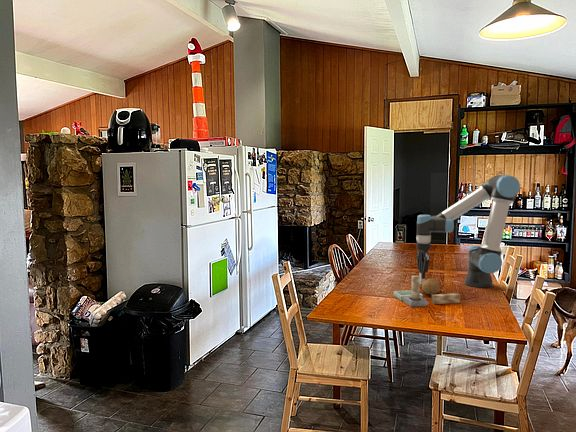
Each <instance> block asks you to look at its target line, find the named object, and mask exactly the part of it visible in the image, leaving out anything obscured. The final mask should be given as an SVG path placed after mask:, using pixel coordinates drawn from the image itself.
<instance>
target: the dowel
mask: <svg viewBox="0 0 576 432" xmlns="http://www.w3.org/2000/svg"><path fill="white" fill-rule="evenodd" d="M420 288H421V284H420V275H411V300H413V301H414V300H420V293H421V292H420V291H421V289H420Z"/></svg>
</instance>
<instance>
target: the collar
mask: <svg viewBox="0 0 576 432" xmlns="http://www.w3.org/2000/svg"><path fill="white" fill-rule="evenodd" d="M402 302H403V303H404V304H406V305H408V307H426V306H427V307H428V306H429V301H428V300H427V299H426V298H424V297H423V298H422V297H421V296H420V300H414V301H413V300H411V296H410V297H403V301H402Z"/></svg>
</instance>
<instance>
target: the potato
mask: <svg viewBox="0 0 576 432" xmlns="http://www.w3.org/2000/svg"><path fill="white" fill-rule="evenodd" d="M441 287H442V286H441V284H440V282H439V281H438V280H437V279H436V278H433V277H429V278H427V279H425V281H424V282H423V283H422V284H421V288H422V291H423V292H425V293H426V294H427V295H430V296H432V295H434V294H438V292H439V291H440V290H441Z"/></svg>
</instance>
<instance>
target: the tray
mask: <svg viewBox="0 0 576 432" xmlns="http://www.w3.org/2000/svg"><path fill="white" fill-rule="evenodd" d="M410 296H411V290H410V289H408V290H407V289H406V290H393V297H395V298H396V299H398V300H399V301H401V302H403V297H410ZM420 296H421V297H422V298H424V294H422V293H421V292H420Z"/></svg>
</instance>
